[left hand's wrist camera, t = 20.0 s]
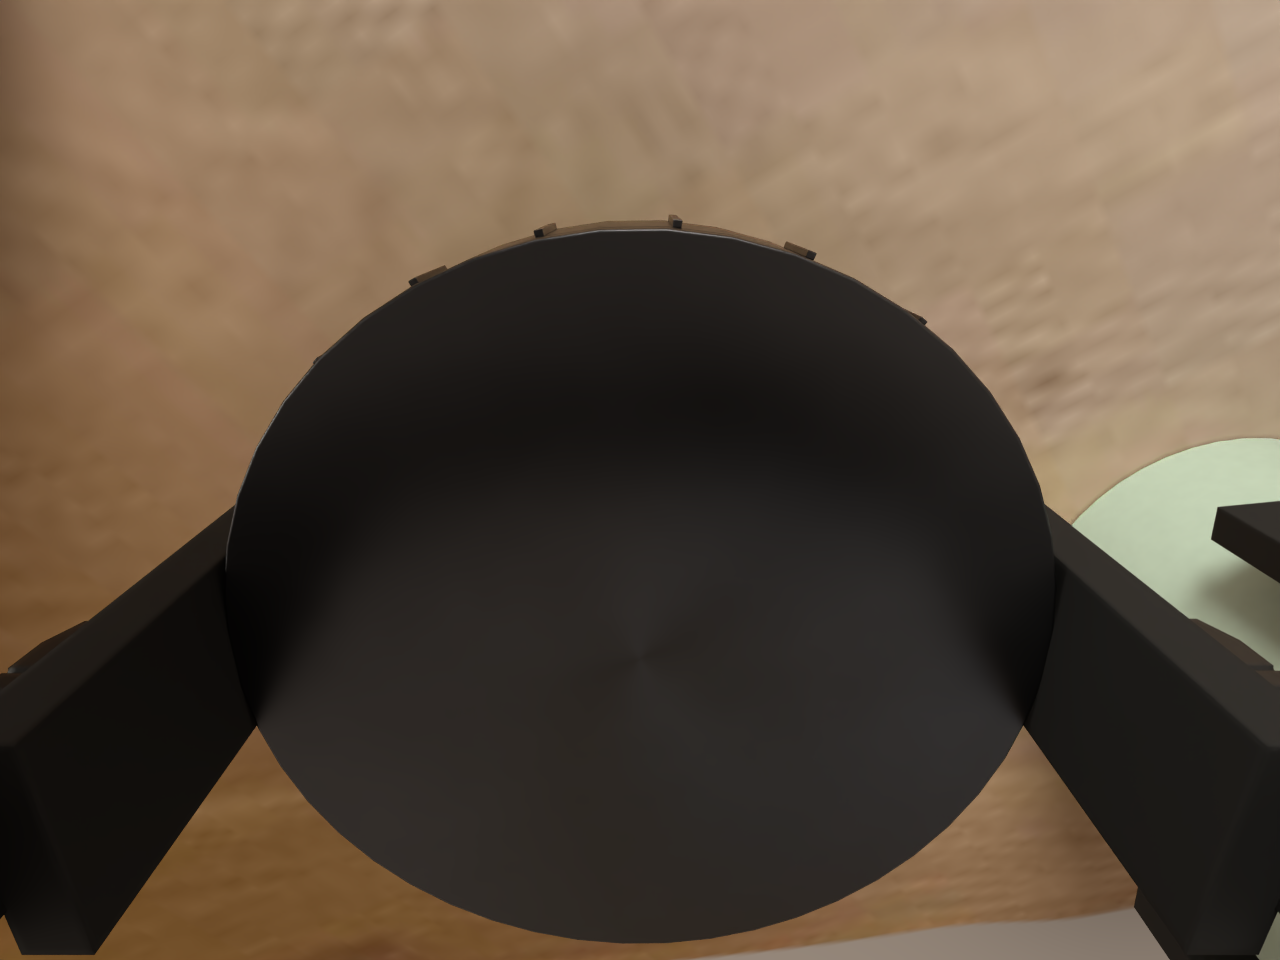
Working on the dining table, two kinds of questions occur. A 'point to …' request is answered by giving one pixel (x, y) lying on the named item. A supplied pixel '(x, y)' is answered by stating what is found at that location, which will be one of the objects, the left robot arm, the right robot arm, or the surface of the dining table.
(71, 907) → the left robot arm
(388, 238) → the dining table surface
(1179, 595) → the jar
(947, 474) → the lid
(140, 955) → the dining table surface
